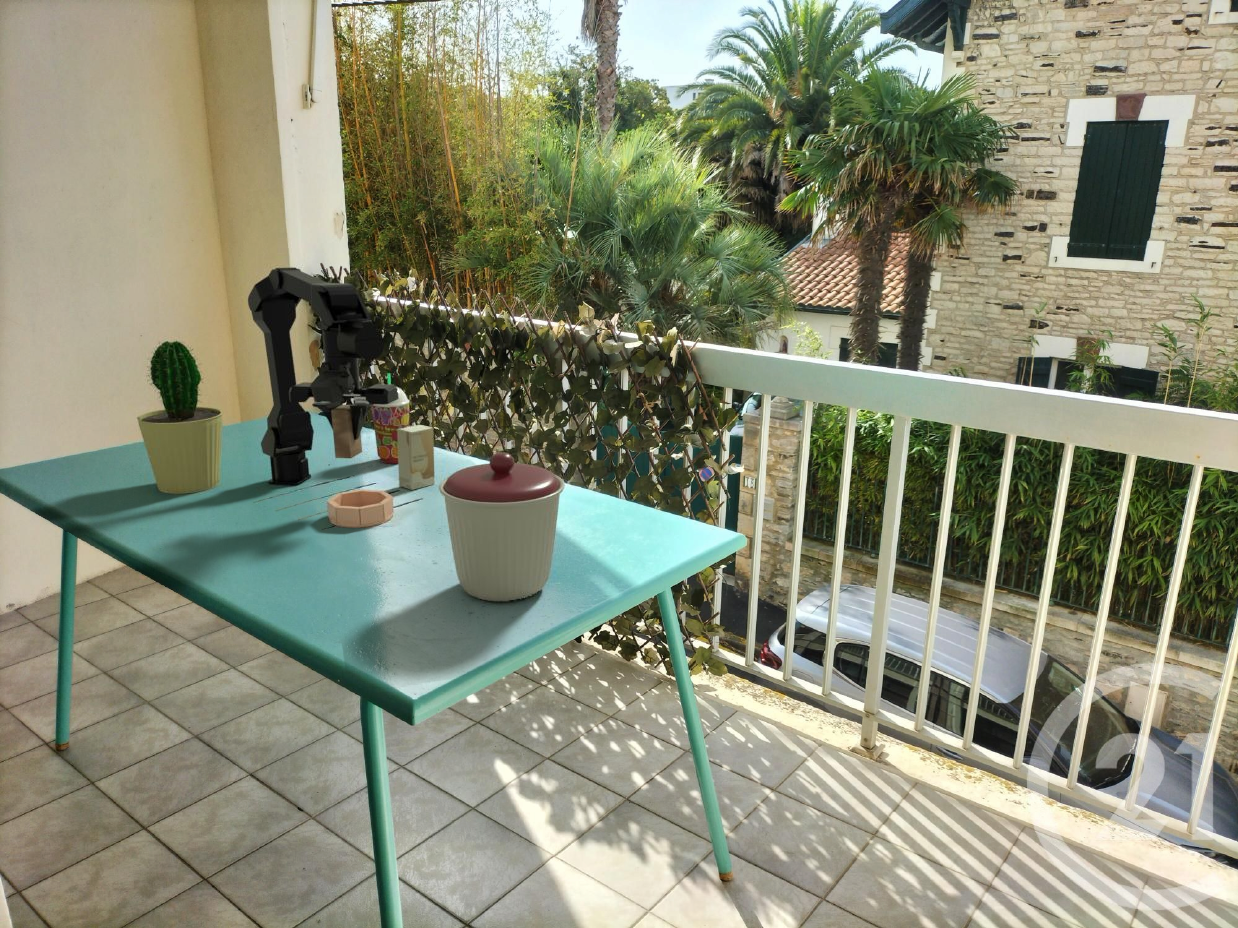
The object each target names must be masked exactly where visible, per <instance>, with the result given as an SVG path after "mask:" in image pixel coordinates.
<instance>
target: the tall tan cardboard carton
mask: <svg viewBox="0 0 1238 928" xmlns="http://www.w3.org/2000/svg"><path fill="white" fill-rule="evenodd" d="M350 405H351V404H341V406H339V407H337V408H335V409H332V410H331V412H332V424H333V430H332V434H333V444H334V445H333V447H334V457H335V459H352V458H355V457H356V456H358V455H359V454H362V453H363V443H362V432H361V433H360V436H359V438H358V439H357V440H354V435H353V413H352V411H351V408H350Z"/></svg>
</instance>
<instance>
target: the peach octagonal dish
mask: <svg viewBox="0 0 1238 928" xmlns="http://www.w3.org/2000/svg"><path fill="white" fill-rule="evenodd" d="M326 504H327V517H328V518H329V522H330V523H331V524H332V525H333V526H337V527H341V528H348V529H351V528H352V529H357V528H358V529H359V528H368V527H375V526H379V525H382V524H385V523H387V522H388V521H390V520H392V518H393V516H394V510H395V509H394V497H393V495H391V494H389V493H387V492H386V491H385V490H378V489H355V490H351V491H350V490H349V491H345V492H339V493H336V494H335V495H333V496H331V497H329V499H327V500H326Z"/></svg>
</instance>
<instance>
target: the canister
mask: <svg viewBox="0 0 1238 928" xmlns="http://www.w3.org/2000/svg"><path fill="white" fill-rule="evenodd" d="M564 489H565V482H564V480H563V479H562V478H561V477H560V476H558V475H556V474H555V473H553V472H551V471H549V470H548V469H545V468H544V467H540V466H537V465H534V464H528V463H519V462H517V463H516V462H515V459H514V457H513V456H512V455H511V454H510V453H508V452H503V451H502V452H497V453H494V454H493V455H492V456H491V457H490V458H489V463H483V464H477V465H473V466H472V465H471V466H468V467H465V468H464V467H463V469H460V470H457V471H455V472H453V473H452V474H451V475H449V476H448V477H446V478H444V479H443V480H442V481H441V482H440V484H439V485H438V490H439V492H440V495H442V496H443V497H444V504H445V511H446V516H447V524H448V530H449V536H450V537H449V538H450V545H451V550H452V554H453V560H454V565H455V571H456V572H455V573H456V575H457V579H458V582H459V584H460V586H461V587H462V589H463V590H464V591H465V592H466V593H467V594H468V595H470V596H472V597H474V598H477V599H480V600H483V601H488V602H500V601H502V602H510V601H509V600H514V601H516V600H515V599H520V600H522V599H521V598H524V597H526V598H528V597H527V596H530V595H531V596H533V595H532V594H534V595H536V594H537V592H538V591H539V592H540V591H541V590H542V589H544V587H545V585H546V584H547V582H548V580H549V578H550V577H549V576H550V573H551V567H552V562H553V555H554V550H555V549H554V548H555V540H556V531H557V524H558V523H557V522H558V514H559V508H560V507H559V504H560V495H561V494H562V492H563V491H564ZM539 592H538V593H539ZM535 593H536V594H535ZM531 596H530V597H531ZM524 599H525V598H524Z"/></svg>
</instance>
